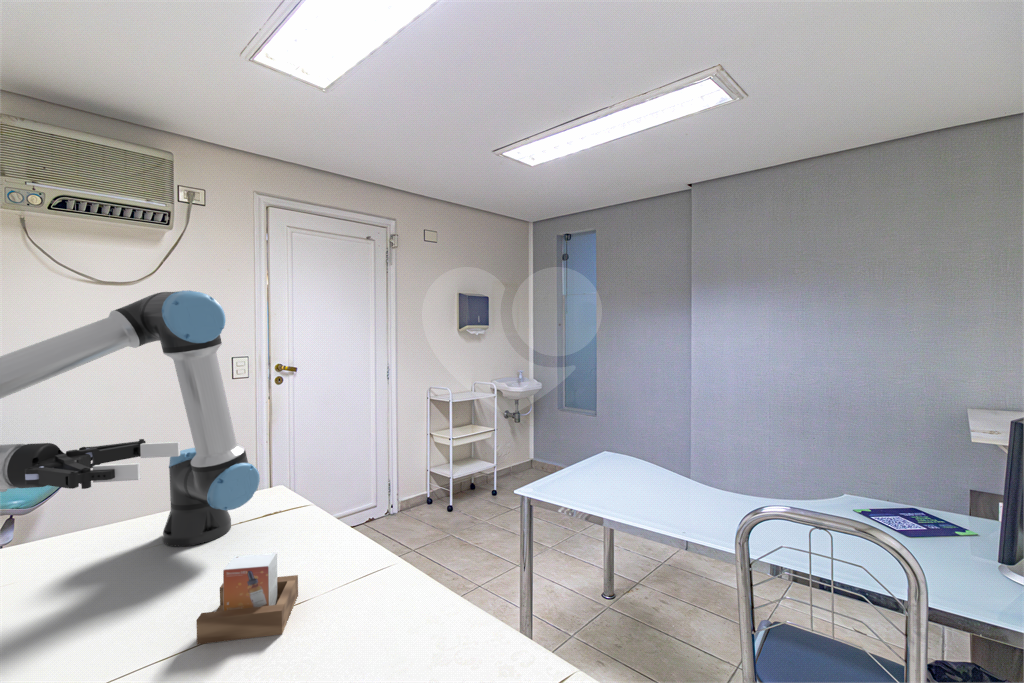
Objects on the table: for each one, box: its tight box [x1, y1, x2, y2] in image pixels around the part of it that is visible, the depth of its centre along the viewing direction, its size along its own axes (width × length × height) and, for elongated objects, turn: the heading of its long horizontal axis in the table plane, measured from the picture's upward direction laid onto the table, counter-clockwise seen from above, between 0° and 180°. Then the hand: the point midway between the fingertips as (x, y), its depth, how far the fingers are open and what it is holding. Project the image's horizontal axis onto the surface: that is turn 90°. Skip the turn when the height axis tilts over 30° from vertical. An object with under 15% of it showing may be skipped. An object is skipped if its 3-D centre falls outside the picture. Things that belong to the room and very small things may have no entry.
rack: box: [196, 574, 299, 645], centre depth 90 cm, size 12×14×4 cm
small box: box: [222, 551, 278, 611], centre depth 89 cm, size 8×6×10 cm
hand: (161, 459), depth 85 cm, fingers open, 13 cm apart
